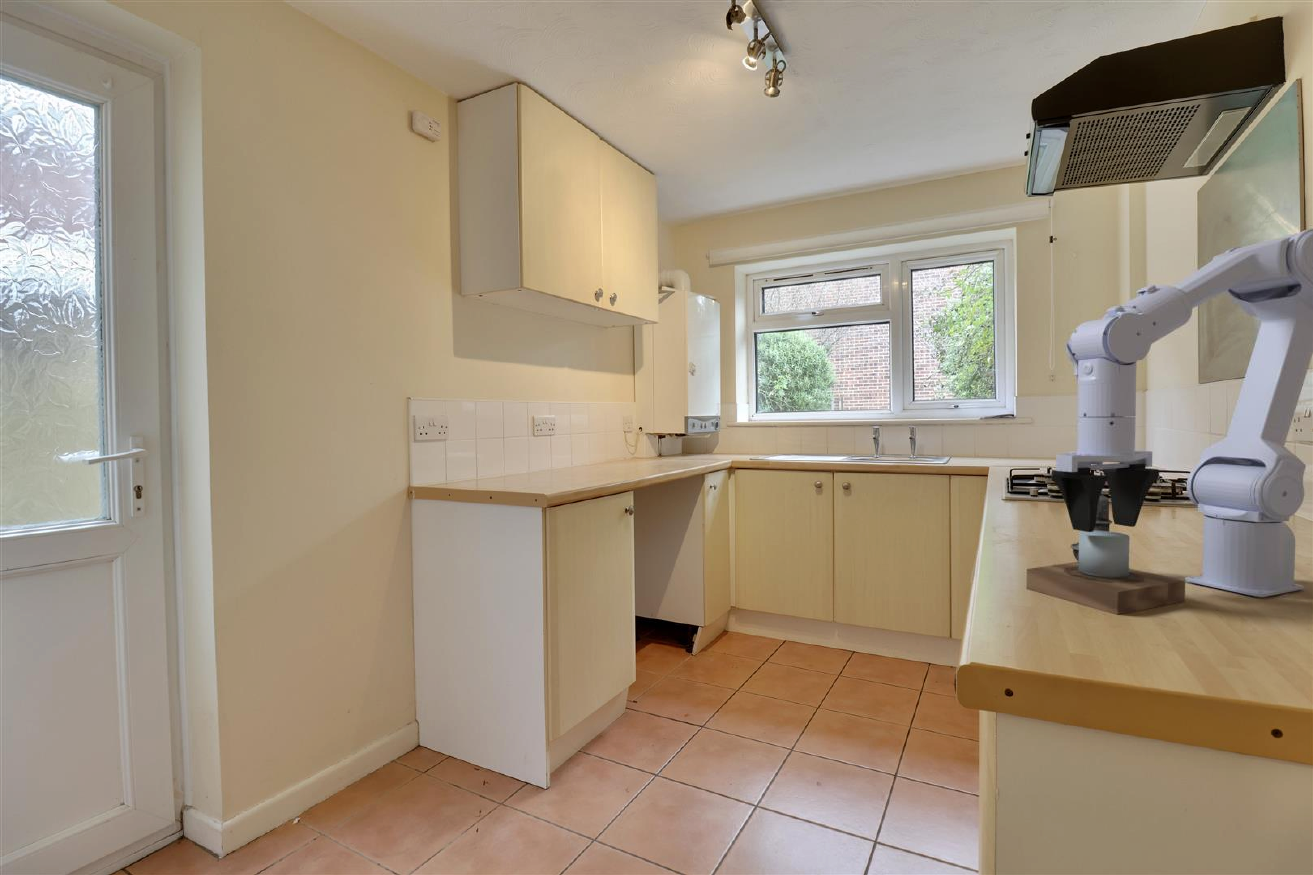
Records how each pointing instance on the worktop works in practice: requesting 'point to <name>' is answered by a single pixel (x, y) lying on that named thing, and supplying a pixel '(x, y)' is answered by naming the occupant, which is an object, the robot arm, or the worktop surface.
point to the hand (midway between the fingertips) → (1104, 527)
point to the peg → (1104, 555)
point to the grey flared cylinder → (1097, 521)
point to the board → (1107, 588)
